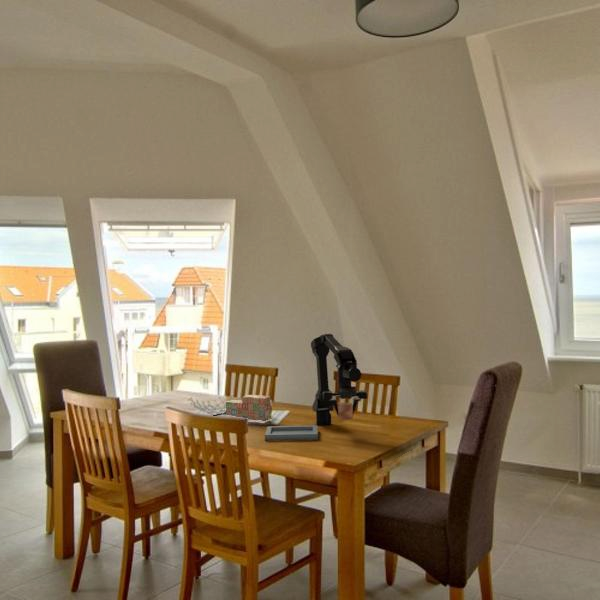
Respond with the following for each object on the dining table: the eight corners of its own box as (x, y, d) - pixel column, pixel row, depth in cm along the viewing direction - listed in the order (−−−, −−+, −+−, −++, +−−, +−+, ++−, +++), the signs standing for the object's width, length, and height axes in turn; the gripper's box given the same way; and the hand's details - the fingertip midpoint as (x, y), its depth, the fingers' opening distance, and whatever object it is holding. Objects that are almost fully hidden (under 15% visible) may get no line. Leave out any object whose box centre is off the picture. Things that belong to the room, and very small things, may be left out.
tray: (264, 441, 247) (264, 435, 247) (267, 432, 263) (267, 426, 263) (317, 439, 247) (317, 433, 247) (317, 431, 263) (317, 425, 263)
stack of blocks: (225, 421, 289) (225, 395, 288) (232, 418, 294) (231, 393, 294) (265, 424, 280) (264, 397, 280) (271, 421, 285) (270, 395, 285)
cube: (338, 419, 251) (338, 405, 251) (338, 416, 257) (337, 402, 257) (352, 419, 251) (352, 405, 251) (351, 416, 257) (351, 402, 257)
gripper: (323, 381, 246) (324, 419, 246) (368, 381, 246) (369, 418, 246) (322, 378, 257) (323, 414, 257) (365, 377, 257) (366, 413, 257)
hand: (345, 415), depth 254 cm, fingers closed on cube, 6 cm apart
